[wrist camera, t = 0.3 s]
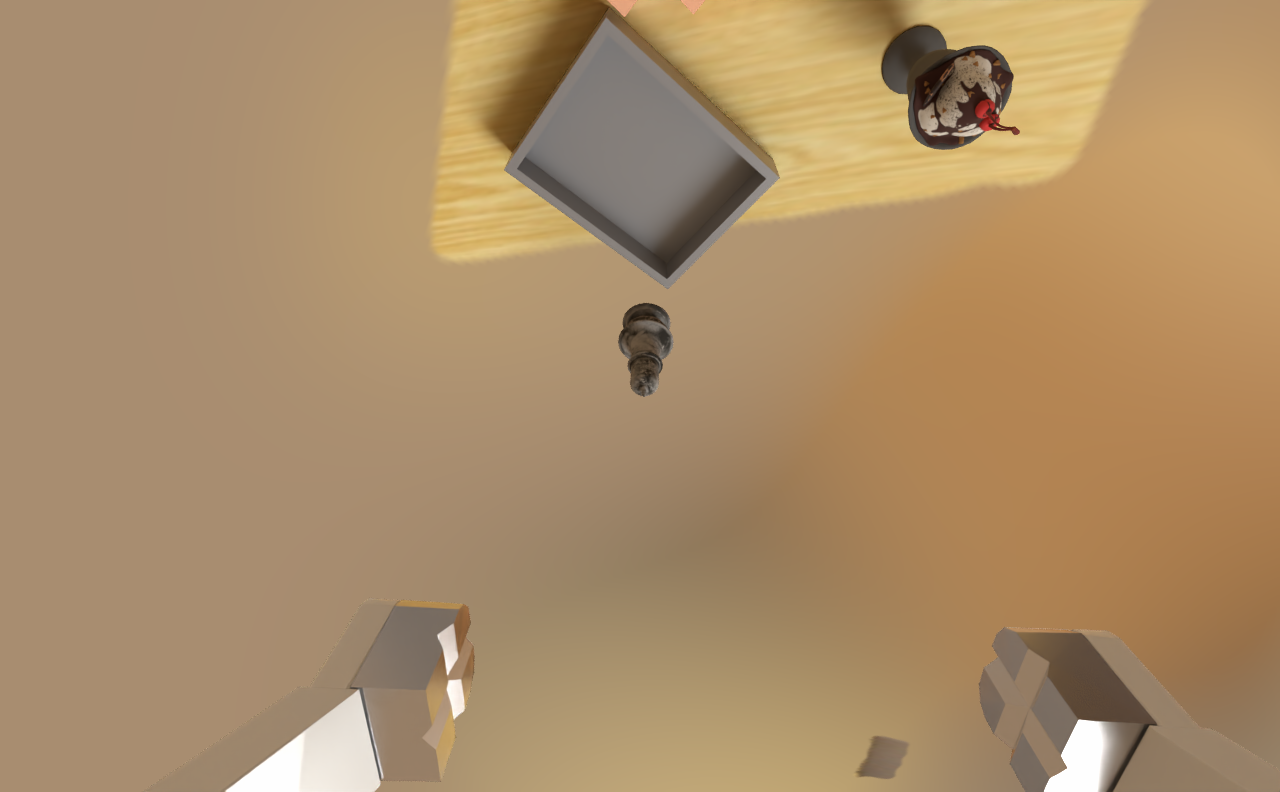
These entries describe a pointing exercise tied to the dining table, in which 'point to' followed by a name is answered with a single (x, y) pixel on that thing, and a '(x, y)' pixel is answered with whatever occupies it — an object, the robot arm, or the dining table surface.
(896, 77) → the sundae
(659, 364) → the salt shaker
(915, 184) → the dining table surface
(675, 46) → the dining table surface
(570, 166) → the tray
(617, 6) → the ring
